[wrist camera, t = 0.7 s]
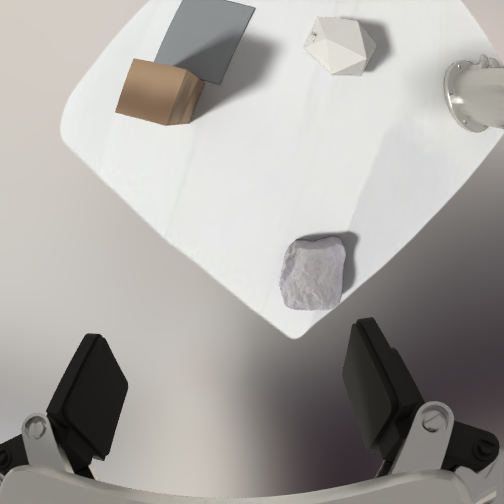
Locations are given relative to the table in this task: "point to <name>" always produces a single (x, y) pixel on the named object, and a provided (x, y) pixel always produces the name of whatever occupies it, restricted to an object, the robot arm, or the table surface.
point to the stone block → (313, 274)
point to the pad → (204, 37)
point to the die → (340, 46)
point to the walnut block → (159, 93)
